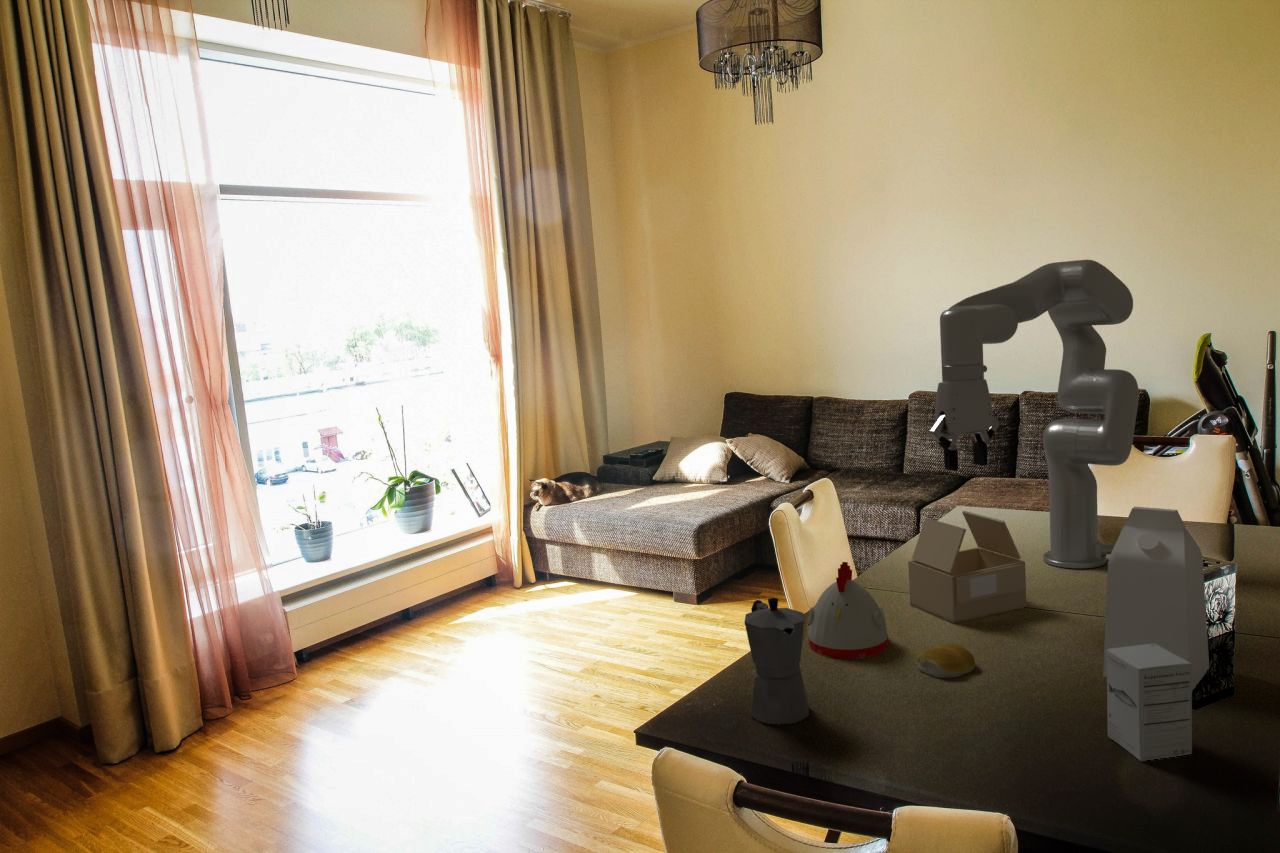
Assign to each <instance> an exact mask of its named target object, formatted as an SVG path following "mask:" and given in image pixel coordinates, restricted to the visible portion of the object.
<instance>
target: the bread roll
mask: <svg viewBox="0 0 1280 853" xmlns="http://www.w3.org/2000/svg"><path fill="white" fill-rule="evenodd" d="M916 667H917V668H918V670H919V671H920V672H921V673H923V674H926V675H927V676H931V677H933V676H934V678H937V677H938V678H939V679H953V678H954V679H955V678H958V677H960V676H963V675H964V674H969V673H971V672H973V670H974V669H975V668H976V661H975V657H974V655H973V654H972V652H970V650H968V649H967V648H966V647H965V646H963V645H961V644H960V645H959V644H957V643H956V644H955V643H945V644H939V645H936V646H933V647H931V648H927V649H925V650H922V651H921V652H920V653H919V655H918V656H917V658H916Z"/></svg>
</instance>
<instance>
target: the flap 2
mask: <svg viewBox="0 0 1280 853" xmlns="http://www.w3.org/2000/svg"><path fill="white" fill-rule="evenodd" d="M961 513H962V515H963V517H964V520H965V521H966V524H967V526H968V528H969V531H970V533H971V534H972V537H973V539H974V541H975V544H976V545H977V548H978V547H979V548H982V549H985V550H988V551H992V552H995V553H998V554H1002V555H1005V556H1008V557H1011V558H1015V559H1018V560H1021V559H1022V557H1021V555H1020V553H1019V550H1018V549H1017V545H1016V544H1015V542H1014V539H1013V538H1012V535H1011V533H1010V530H1009V529H1008V526H1007V524H1006V521H1005V520H1002V519H999V518H998V519H997V518H994V517H989V516H986V515H983V514H979V513H975V512H971V511H966V510H963V511H962V512H961Z"/></svg>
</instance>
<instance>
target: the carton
mask: <svg viewBox="0 0 1280 853" xmlns="http://www.w3.org/2000/svg"><path fill="white" fill-rule="evenodd" d="M907 566H908V583H909V584H908V586H909V605H910V606H911V607H912V608H915V609H918V610H921V611H922V612H925V613H927V614H930V615H932V616H934V617H937V618H939V619H941V620H944V621H946V622H948V623H951V624H953V625H955V624H959V622H960V623H964V622H968V620H969V621H973V620H977V619H980V618H981V617H982V618H986V617H990V616H989V615H991V616H994V614H995V615H999V614H1002V613H1003V612H1004V613H1008V612H1011V610H1012V611H1016V610H1015V609H1017V610H1021V609H1025V608H1024V607H1026V608H1027V581H1026V578H1027V577H1026V561H1024V560H1022V559H1016V558H1012V557H1009V556H1006V555H1002V554H999V553H996V552H993V551H989V550H986V549H983V548H979V547H978V546H977V547H974V548H968V549H964V550H959V553H958V556H957V559H956V562H955V565H954V568H953V571H952V573H949V572H946V571H944V570H941V569H938V568H935V567H932V566H930V565H927V564H924V563H921V562H918V561H916V560H913V559H911V560H908V565H907ZM1020 608H1021V609H1020ZM1007 611H1008V612H1007ZM998 613H999V614H998ZM985 616H986V617H985ZM972 619H973V620H972ZM963 621H964V622H963Z"/></svg>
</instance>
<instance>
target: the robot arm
mask: <svg viewBox="0 0 1280 853" xmlns="http://www.w3.org/2000/svg"><path fill="white" fill-rule="evenodd" d="M1132 295H1133V294H1132V293H1131V291H1130V289H1129V288H1128V286H1127V285H1126V284H1125V283H1124V282H1123V281H1122V280H1121V279H1119V278H1118V277H1117V276H1116V275H1115V274H1114V273H1113V272H1112V271H1111V270H1110V269H1109V268H1107V267H1106V266H1105V265H1104V264H1102V263H1100V262H1098V261H1096V260H1093V259H1078V260H1069V261H1057V262H1056V261H1055V262H1051V263H1050V262H1049V263H1047V264H1044V265H1041V266H1040V267H1038V268H1036V269H1034V270H1033V271H1030V272H1029V273H1028V274H1026V275H1024V276H1022V277H1021V278H1019V279H1017V280H1015V281H1013V282H1010V283H1007V284H1004V285H1000V286H997V287H995V288H992V289H989V290H985V291H982V292H979V293H976V294H973V295H971V296H968V297H966V298H964V299H962V300H960V301H959V302H956V303H955V304H953V305H952V306H950V307H949V308H948V309H945V310H944V311H942V312H941V313H940V316H939V334H940V356H941V358H940V359H941V361H940V362H941V382H938V384H937V390H936V397H935V407H934V410H935V412H934V424H933V426H932V427H931V429H930V430H929V431H928V434H929V435H930V436H931V437H932V438H933V439H934V440H935V442H936V443H937V444H938V445H939V446H940V448H941V449H942V450H943V460H944V462H943V463H944V469H945V470H950V471H954V472H955V471H958V470H959V451H958V449H956V446H957V441H958V440H959V439H958V438H959V435H960V436H961V435H967V434H972V436H973V439H974V441H975V443H973V446H972V448H973V449H972V450H973V451H972V452H973V464H974V465H977V466H983V467H986V466H988V465H989V463H988V462H989V460H988V459H989V458H988V446H989V445H990V443H991V439H992V438H993V436H995V432H996V431H997V429H998V428H999V427H1000V422H999V420H998V419H997V418H996V417H995V416H994V415H993V414H992V404H991V396H990V391H989V386H988V383H987V379H986V378H985V373H986V372H987V371H988V367H987V365H984V345H993V344H994V345H995V344H1003V343H1005V342H1007V341H1009V340H1011V339H1012V338H1013V337H1014V336H1015V334H1016V332H1017V330H1018V327H1019V326H1018V325H1019V324H1021V323H1025V322H1029V321H1033V320H1035V319H1037V318H1039V317H1040V316H1042V315H1043V314H1045V313H1048V316H1049V318H1050V320H1051V321H1052V323H1053V324H1054V327H1055V328H1056V330H1057V332H1058V334H1059V336H1060V339H1061V343H1062V358H1061V359H1062V360H1061V365H1060V366H1061V368H1060V374H1059V380H1058V387H1057V395H1056V396H1057V404H1058V405H1059V407H1060V408H1061V409H1062V410H1064V411H1065V412H1070V413H1077V414H1091V415H1092V414H1093V415H1094V414H1095V415H1104V419H1091V418H1090V419H1089V418H1070V417H1069V418H1068V417H1067V418H1066V417H1065V418H1064V417H1063V418H1059V419H1055V420H1053V421H1051V422H1049V423H1048V424H1047V425H1046V426H1045V428H1044V430H1043V433H1042V446H1043V451H1044V454H1045V459H1046V463H1047V464H1046V465H1047V473H1048V497H1049V501H1048V502H1049V532H1050V533H1049V536H1050V538H1049V539H1050V550H1048V551H1046V552H1044V553H1043V556H1042V557H1043V561H1044V563H1046V564H1049V565H1051V566H1054V567H1058V568H1066V569H1091V568H1099V567H1102V566H1103V565H1105V564H1106V563H1107V555H1111V552H1112V550H1113V548H1114V546H1115V544H1114V543H1113V544H1112V543H1111V544H1110V543H1109V544H1103V543H1101V541H1100V539H1099V530H1098V529H1099V527H1098V526H1099V522H1098V521H1099V520H1098V519H1099V517H1098V516H1099V515H1098V514H1099V513H1098V484H1097V480H1096V476H1095V474H1094V472H1093V471H1092V468H1090V466H1089V465H1098V466H1109V467H1110V466H1112V467H1113V466H1120V465H1122V464H1124V463H1125V462H1126V461H1127V460H1128V459H1129V457H1130V454H1131V451H1132V449H1133V443H1134V442H1133V441H1134V435H1135V429H1136V428H1135V427H1136V421H1137V413H1138V407H1139V400H1140V399H1139V398H1140V395H1139V394H1140V392H1139V385H1138V382H1137V379H1136V378H1135V376H1134V375H1133V374H1132V373H1131V372H1130V371H1127V370H1124V369H1116V368H1115V369H1109V368H1108V369H1106V367H1105V366H1106V356H1107V347H1106V343H1105V341H1104V339H1103V338H1102V337H1101V335H1100V334H1099V332H1098V331H1097V330H1096V328H1094V326H1109V325H1110V326H1111V325H1119V324H1121V323H1124V322H1125V321H1127V320H1128V319H1129V317H1130V316H1131V315H1132V313H1133V309H1134V299H1133V296H1132Z"/></svg>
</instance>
